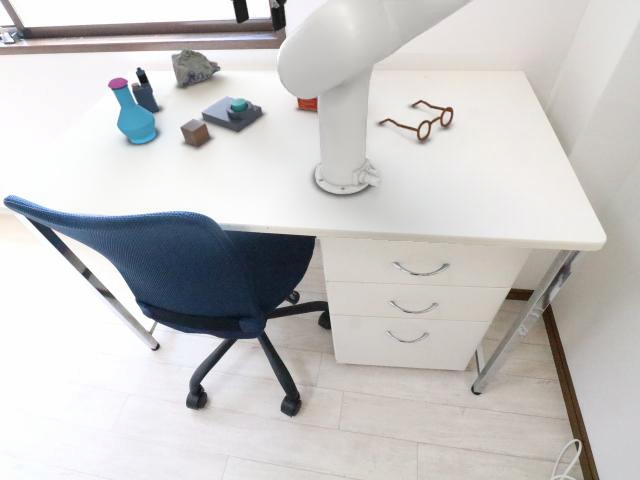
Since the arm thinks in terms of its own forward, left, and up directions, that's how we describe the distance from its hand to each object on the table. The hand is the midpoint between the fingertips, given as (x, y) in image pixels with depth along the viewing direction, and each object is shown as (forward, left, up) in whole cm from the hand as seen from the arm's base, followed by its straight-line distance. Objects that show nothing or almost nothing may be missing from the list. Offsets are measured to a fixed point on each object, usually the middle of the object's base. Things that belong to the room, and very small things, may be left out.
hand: (261, 25), depth 75 cm
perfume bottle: (+33, +17, -26) cm, 46 cm away
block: (+18, +11, -26) cm, 34 cm away
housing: (+18, -2, -26) cm, 32 cm away
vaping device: (+42, +7, -26) cm, 50 cm away
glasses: (-27, -22, -26) cm, 44 cm away
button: (+14, -2, -23) cm, 27 cm away
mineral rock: (+43, -13, -26) cm, 52 cm away
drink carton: (-2, -20, -26) cm, 33 cm away
